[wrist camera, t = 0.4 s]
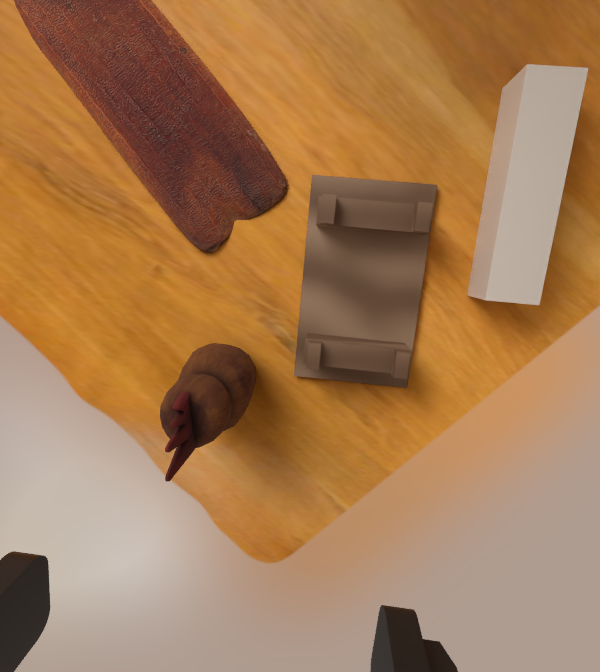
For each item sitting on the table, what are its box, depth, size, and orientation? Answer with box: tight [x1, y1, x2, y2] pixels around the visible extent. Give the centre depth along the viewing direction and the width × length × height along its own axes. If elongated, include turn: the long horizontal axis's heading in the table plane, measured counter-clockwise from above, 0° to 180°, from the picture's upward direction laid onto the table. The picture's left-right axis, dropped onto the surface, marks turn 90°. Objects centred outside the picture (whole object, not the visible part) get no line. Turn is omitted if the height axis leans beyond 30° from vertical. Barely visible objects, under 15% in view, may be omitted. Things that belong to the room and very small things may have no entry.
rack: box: [294, 175, 437, 388], centre depth 32 cm, size 17×10×5 cm, turn 175°
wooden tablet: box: [14, 0, 287, 253], centre depth 32 cm, size 27×10×2 cm, turn 38°
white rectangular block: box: [467, 64, 588, 305], centre depth 30 cm, size 16×4×4 cm, turn 175°
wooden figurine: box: [160, 343, 256, 481], centre depth 29 cm, size 7×6×15 cm
